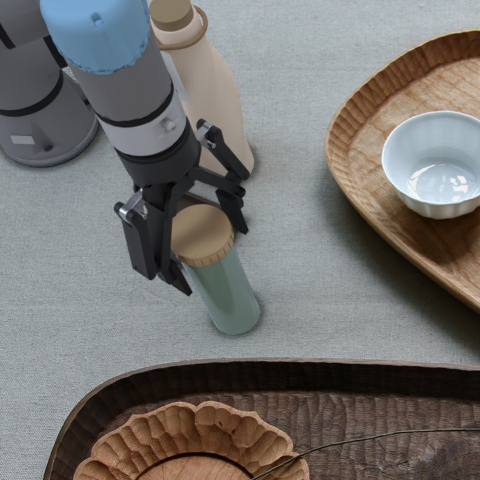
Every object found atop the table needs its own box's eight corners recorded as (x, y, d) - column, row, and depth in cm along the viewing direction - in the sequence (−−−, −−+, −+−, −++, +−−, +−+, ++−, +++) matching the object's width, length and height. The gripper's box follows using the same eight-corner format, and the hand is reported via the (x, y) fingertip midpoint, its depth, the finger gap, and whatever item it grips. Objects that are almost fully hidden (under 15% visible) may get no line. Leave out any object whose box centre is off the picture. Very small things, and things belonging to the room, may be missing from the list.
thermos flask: (210, 334, 108) (165, 257, 91) (216, 293, 111) (173, 210, 93) (257, 335, 108) (222, 257, 91) (262, 293, 111) (228, 210, 93)
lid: (158, 251, 93) (153, 242, 91) (194, 203, 95) (190, 194, 94) (211, 277, 91) (206, 268, 90) (246, 228, 94) (243, 218, 92)
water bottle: (247, 201, 117) (192, 49, 91) (188, 192, 118) (117, 40, 92) (266, 144, 120) (218, -17, 94) (208, 137, 121) (146, -25, 96)
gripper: (95, 229, 72) (172, 342, 93) (254, 69, 78) (293, 208, 99) (37, 190, 74) (124, 309, 95) (197, 37, 80) (246, 180, 101)
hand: (211, 257), depth 97 cm, fingers open, 10 cm apart
